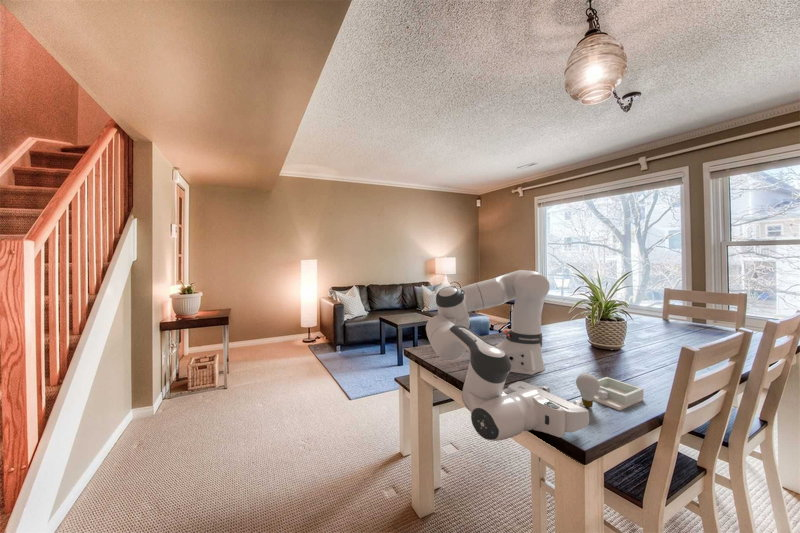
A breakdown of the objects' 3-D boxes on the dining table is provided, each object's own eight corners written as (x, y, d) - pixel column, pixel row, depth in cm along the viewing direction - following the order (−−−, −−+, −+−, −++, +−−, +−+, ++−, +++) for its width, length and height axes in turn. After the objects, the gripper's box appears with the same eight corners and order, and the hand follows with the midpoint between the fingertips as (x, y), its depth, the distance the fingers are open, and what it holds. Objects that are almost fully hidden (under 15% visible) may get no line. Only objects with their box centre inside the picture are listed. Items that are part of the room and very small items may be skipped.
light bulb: (571, 403, 91) (571, 370, 90) (589, 402, 91) (590, 370, 91) (584, 413, 85) (585, 378, 84) (604, 412, 85) (605, 377, 85)
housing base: (619, 410, 86) (619, 398, 86) (582, 395, 96) (582, 384, 96) (643, 400, 93) (643, 388, 93) (606, 386, 102) (606, 376, 102)
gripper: (497, 402, 85) (530, 392, 92) (567, 441, 67) (601, 425, 74) (498, 380, 85) (531, 372, 91) (567, 414, 67) (602, 400, 73)
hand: (563, 396), depth 82 cm, fingers open, 8 cm apart
